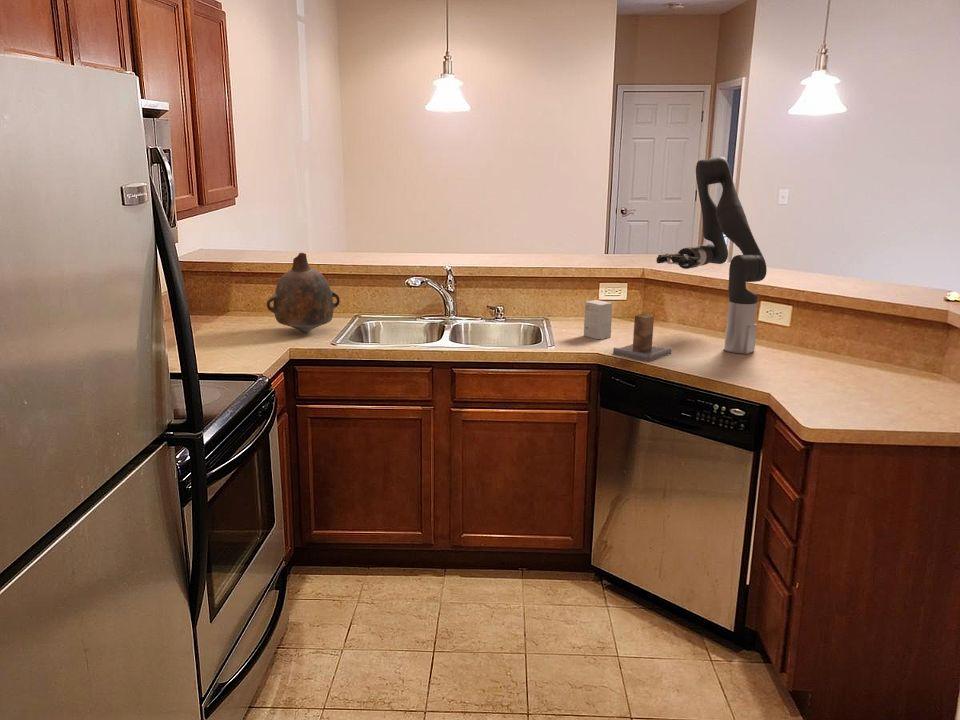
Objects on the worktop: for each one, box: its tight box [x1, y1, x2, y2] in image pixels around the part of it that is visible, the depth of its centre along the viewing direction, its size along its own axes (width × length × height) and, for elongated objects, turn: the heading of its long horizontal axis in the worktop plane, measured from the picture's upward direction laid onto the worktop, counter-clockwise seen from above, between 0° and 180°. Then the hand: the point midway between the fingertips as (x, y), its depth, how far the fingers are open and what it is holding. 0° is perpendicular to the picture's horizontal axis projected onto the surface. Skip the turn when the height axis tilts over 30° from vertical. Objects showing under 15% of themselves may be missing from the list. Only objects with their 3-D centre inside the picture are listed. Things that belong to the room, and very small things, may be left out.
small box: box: [583, 299, 613, 340], centre depth 289 cm, size 8×6×13 cm
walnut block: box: [632, 313, 655, 353], centre depth 266 cm, size 5×5×12 cm
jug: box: [266, 252, 341, 333], centre depth 288 cm, size 24×21×30 cm
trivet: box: [612, 343, 672, 362], centre depth 267 cm, size 14×14×2 cm
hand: (668, 261), depth 274 cm, fingers open, 8 cm apart
